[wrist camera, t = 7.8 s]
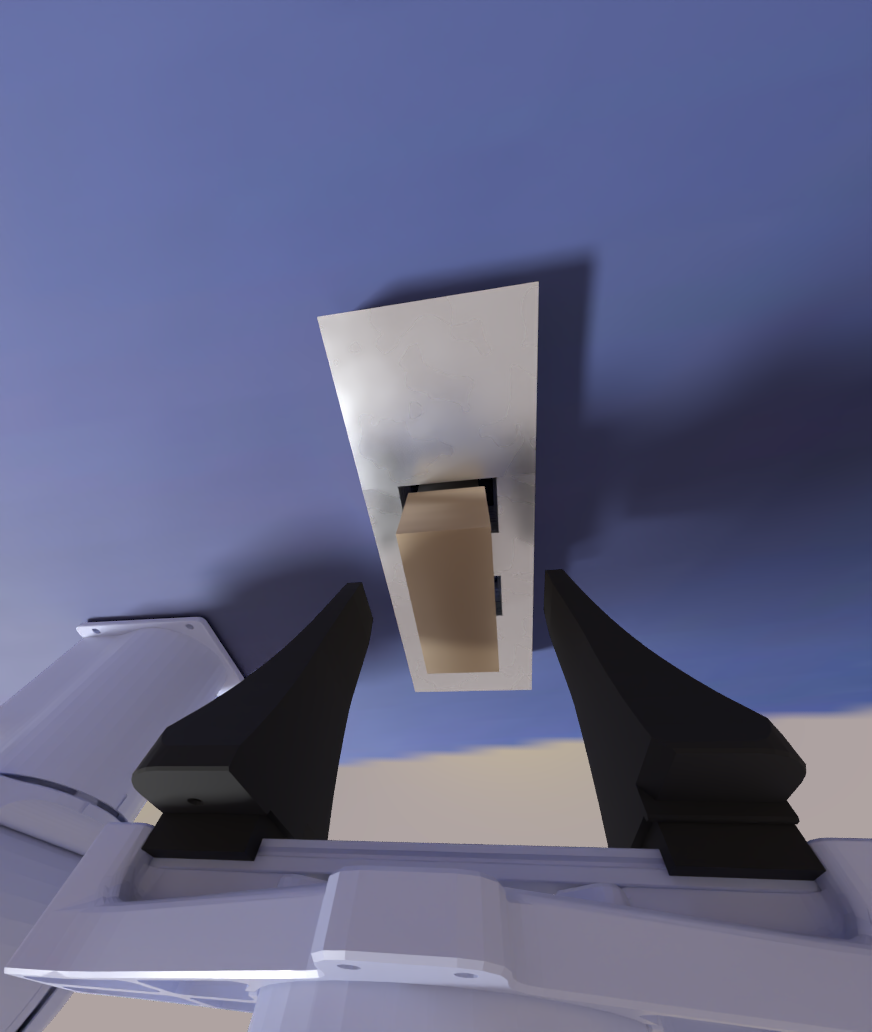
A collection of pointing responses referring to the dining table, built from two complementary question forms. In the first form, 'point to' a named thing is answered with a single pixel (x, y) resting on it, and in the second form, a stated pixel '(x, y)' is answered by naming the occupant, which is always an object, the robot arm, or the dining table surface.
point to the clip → (451, 575)
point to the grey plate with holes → (448, 441)
